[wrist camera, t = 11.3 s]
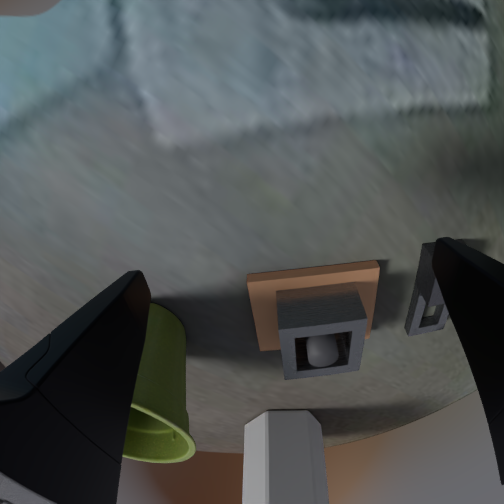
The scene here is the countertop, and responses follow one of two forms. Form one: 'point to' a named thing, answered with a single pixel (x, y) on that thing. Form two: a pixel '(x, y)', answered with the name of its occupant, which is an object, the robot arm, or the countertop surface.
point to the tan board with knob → (266, 285)
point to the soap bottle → (284, 459)
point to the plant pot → (160, 395)
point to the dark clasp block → (426, 297)
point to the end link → (320, 327)
